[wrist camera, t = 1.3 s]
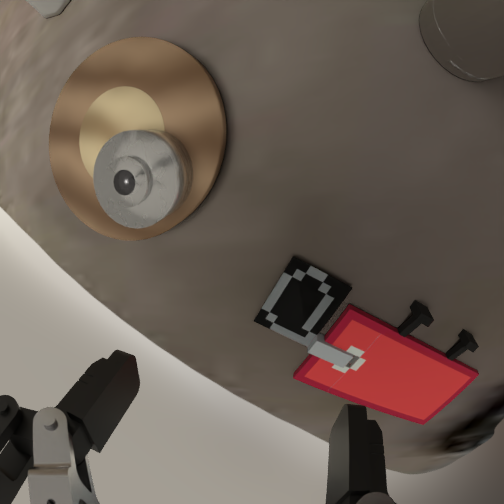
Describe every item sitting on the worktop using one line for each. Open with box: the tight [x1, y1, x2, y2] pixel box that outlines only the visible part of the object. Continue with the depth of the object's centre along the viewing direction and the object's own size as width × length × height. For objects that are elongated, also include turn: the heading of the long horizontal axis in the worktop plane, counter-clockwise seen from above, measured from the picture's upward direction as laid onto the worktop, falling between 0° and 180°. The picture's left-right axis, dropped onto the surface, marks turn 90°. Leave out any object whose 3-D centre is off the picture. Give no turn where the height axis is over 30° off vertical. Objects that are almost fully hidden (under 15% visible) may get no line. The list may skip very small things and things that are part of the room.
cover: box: [93, 129, 193, 228], centre depth 24 cm, size 8×8×5 cm
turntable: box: [49, 37, 227, 240], centre depth 26 cm, size 20×20×3 cm
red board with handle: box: [254, 256, 479, 425], centre depth 30 cm, size 30×3×15 cm
